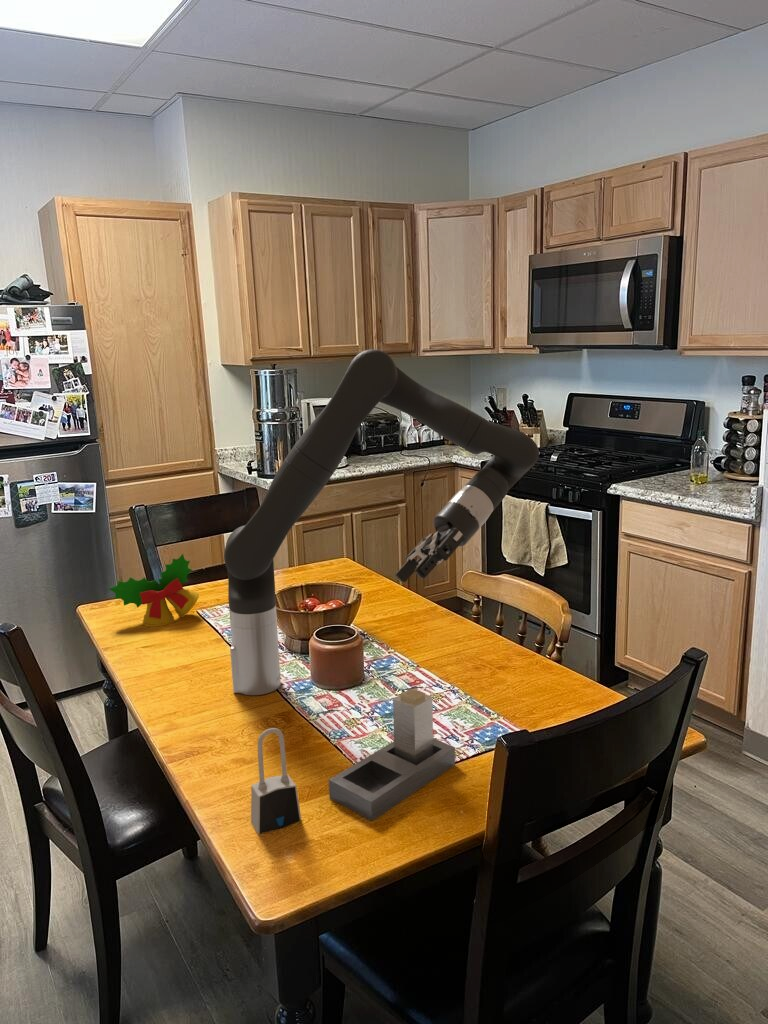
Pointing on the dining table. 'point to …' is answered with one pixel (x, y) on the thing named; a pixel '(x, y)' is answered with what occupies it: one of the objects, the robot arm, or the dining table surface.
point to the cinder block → (387, 779)
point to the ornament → (160, 594)
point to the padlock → (273, 794)
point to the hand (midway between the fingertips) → (408, 577)
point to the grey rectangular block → (413, 726)
